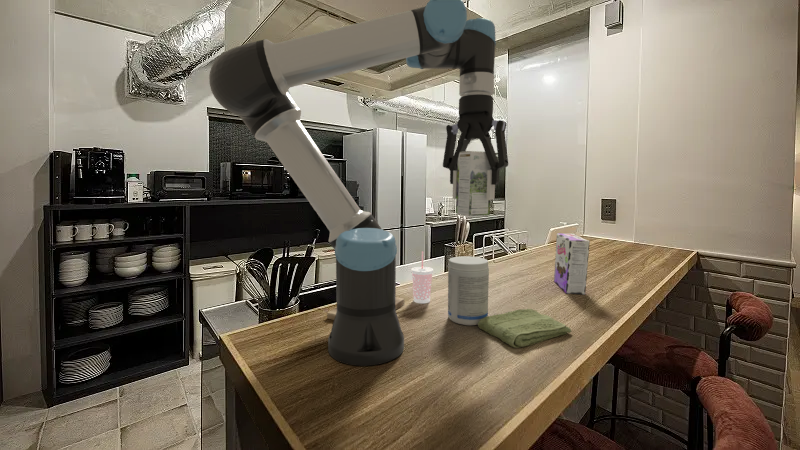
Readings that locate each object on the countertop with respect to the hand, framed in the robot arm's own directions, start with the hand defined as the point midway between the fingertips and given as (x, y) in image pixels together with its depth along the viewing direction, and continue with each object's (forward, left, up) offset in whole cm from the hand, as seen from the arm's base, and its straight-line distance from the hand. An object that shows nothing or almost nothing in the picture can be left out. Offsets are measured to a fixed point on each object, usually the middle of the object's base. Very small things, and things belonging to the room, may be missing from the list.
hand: (473, 198), depth 85 cm
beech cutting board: (-9, +24, -29) cm, 39 cm away
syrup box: (0, 0, -4) cm, 4 cm away
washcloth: (+2, -12, -30) cm, 32 cm away
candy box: (+44, -14, -29) cm, 54 cm away
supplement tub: (+1, +1, -29) cm, 30 cm away
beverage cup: (+6, +17, -29) cm, 34 cm away
